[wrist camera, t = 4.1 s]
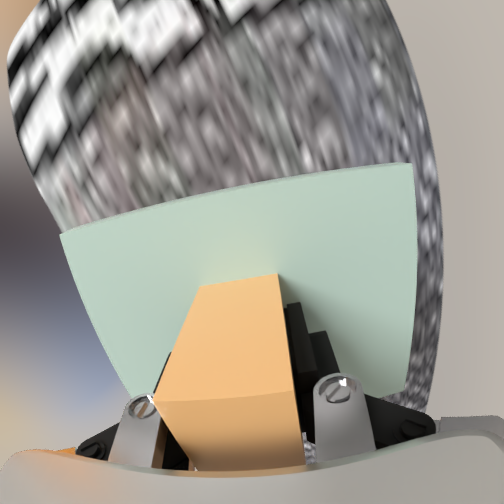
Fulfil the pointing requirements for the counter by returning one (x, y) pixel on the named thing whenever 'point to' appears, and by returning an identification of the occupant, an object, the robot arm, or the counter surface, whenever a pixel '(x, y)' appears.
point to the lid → (253, 301)
